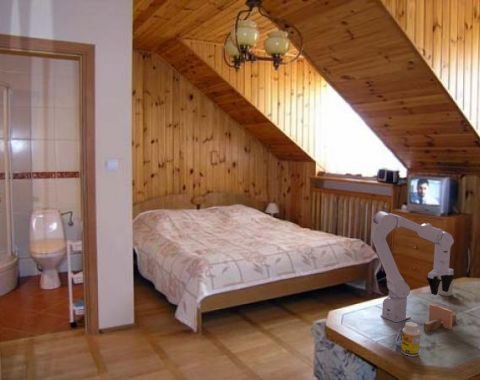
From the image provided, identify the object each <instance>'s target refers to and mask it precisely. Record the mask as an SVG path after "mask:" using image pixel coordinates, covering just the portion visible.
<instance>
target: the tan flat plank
mask: <svg viewBox="0 0 480 380" xmlns="http://www.w3.org/2000/svg"><path fill="white" fill-rule="evenodd" d="M453 312H454V311H453V310H451V309H448V308H445V307H442V306H438V305H436V304H433V303H431V304H429V313H428V322H430V321H432V320H435V319H438V318H439V319H441V322H443V326H442V327H443V328H445V329H448V330H451V329H453V323H452V318H453Z"/></svg>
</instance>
